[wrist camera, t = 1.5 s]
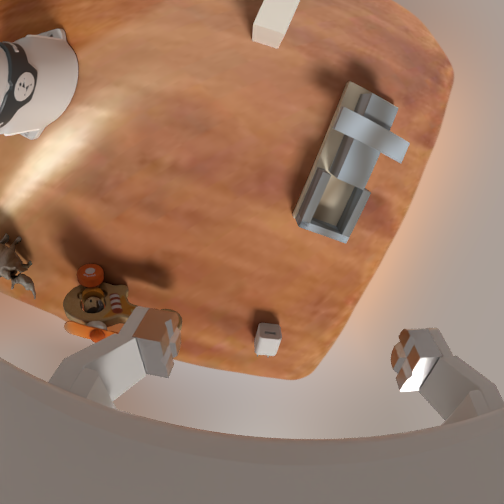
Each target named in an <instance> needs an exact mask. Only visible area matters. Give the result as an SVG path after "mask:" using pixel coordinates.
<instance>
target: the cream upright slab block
mask: <svg viewBox="0 0 504 504" xmlns="http://www.w3.org/2000/svg"><path fill="white" fill-rule="evenodd" d="M299 2H300V0H264V1H263V4H262V6H261V8H260V10H259V12H258V14H257V17H256V19H255V21H254V23H253V34H252V41H255V42H258V43H261V44H264V45H267V46H270V47H273V48H276V49H278V47H279V45H280V43H281V41H282V39H283V38H284V36H285V34H286V31H287V29H288V27H289V24H290V22H291V20H292V17H293V15H294V13H295V10H296V8H297V6H298V4H299Z"/></svg>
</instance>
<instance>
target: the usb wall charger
mask: <svg viewBox="0 0 504 504" xmlns="http://www.w3.org/2000/svg"><path fill="white" fill-rule="evenodd" d="M281 339H282V335H281V327H280V326H279V325H278V324H268V323H259V326H258V329H257V333H256V337H255V341H254V344H255V353H256V354H257V357H258V354H259V355H267V358H268V357H269V356H274V355H276V353H277V350H278V347H279V344H280V341H281Z"/></svg>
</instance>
